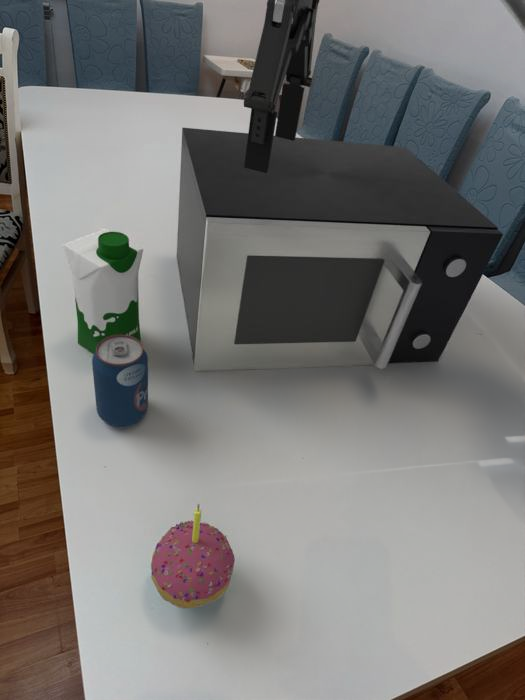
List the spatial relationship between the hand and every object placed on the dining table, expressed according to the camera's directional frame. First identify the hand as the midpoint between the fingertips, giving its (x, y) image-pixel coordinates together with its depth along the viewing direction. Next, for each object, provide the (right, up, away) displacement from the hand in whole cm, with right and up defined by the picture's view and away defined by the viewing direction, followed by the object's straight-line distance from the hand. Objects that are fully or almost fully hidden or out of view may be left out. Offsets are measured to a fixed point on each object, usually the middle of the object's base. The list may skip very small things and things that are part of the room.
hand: (271, 152), depth 63 cm
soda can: (-21, -34, +8) cm, 41 cm away
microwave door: (+4, -29, +18) cm, 35 cm away
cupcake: (-9, -50, -9) cm, 52 cm away
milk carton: (-26, -24, +18) cm, 40 cm away
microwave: (+6, -17, +34) cm, 38 cm away
